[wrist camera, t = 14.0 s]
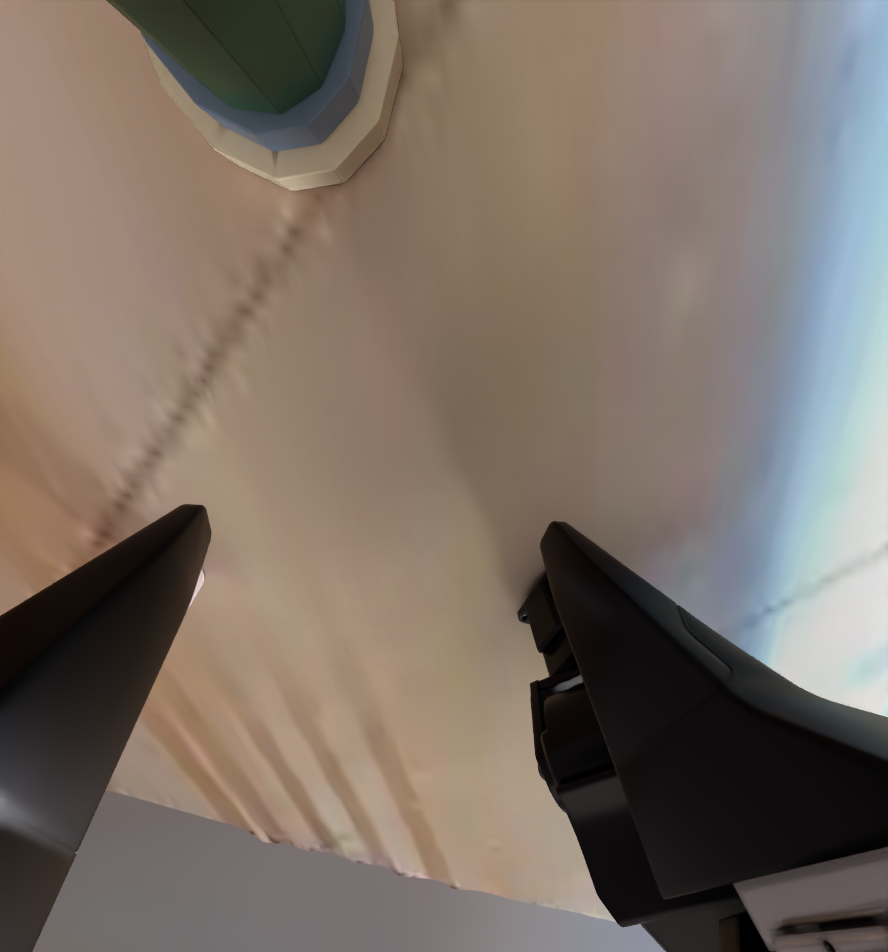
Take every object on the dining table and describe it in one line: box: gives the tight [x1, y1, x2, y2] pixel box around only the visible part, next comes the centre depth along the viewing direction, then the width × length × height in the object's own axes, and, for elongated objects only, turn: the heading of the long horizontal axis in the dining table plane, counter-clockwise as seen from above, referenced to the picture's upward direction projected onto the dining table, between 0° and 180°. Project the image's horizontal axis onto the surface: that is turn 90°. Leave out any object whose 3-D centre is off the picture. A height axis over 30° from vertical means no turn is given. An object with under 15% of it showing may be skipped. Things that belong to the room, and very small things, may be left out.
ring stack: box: [141, 0, 403, 191], centre depth 12 cm, size 9×9×3 cm
